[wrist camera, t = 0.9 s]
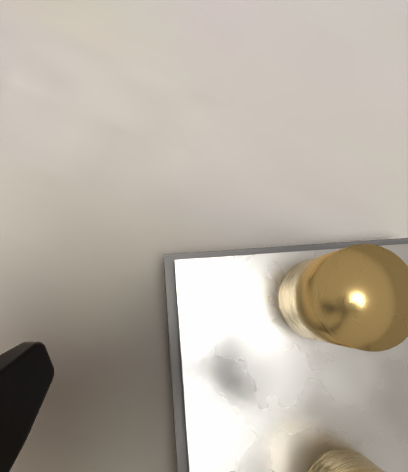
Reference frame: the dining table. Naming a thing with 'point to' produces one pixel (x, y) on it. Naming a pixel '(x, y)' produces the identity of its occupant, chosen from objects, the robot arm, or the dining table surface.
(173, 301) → the base
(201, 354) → the pan
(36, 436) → the dining table surface
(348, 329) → the cylinder
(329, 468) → the cylinder
